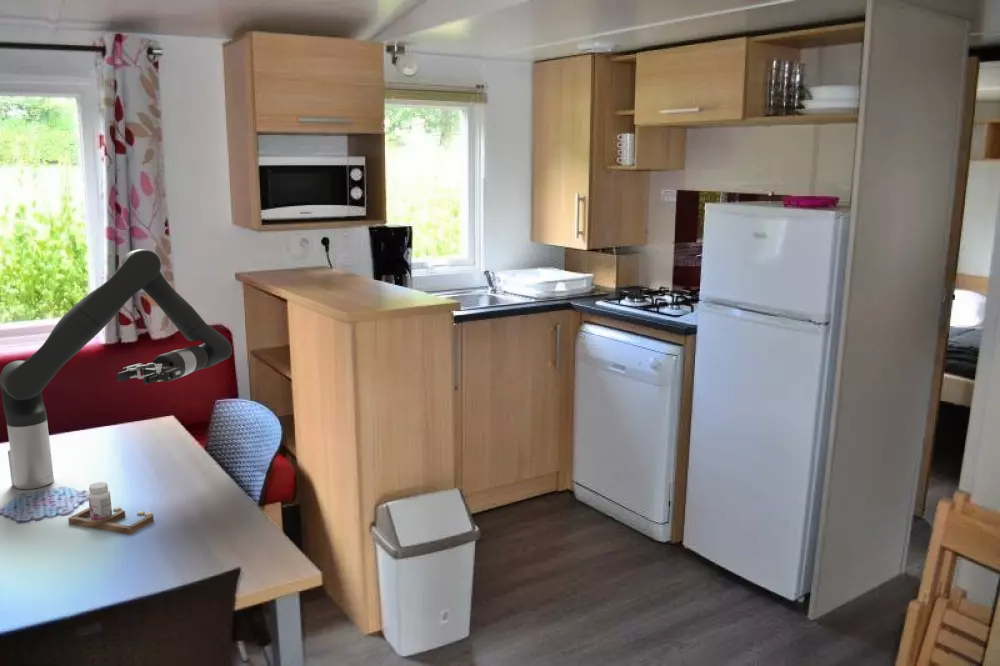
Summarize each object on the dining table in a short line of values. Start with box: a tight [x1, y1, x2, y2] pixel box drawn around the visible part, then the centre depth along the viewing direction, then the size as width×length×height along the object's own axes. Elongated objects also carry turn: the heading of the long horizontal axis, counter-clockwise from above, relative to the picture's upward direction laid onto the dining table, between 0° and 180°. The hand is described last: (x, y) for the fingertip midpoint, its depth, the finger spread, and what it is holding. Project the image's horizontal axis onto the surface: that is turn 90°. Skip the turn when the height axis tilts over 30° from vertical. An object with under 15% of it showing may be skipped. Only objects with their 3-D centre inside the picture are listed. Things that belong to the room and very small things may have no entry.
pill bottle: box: [88, 481, 113, 521], centre depth 197 cm, size 5×5×8 cm
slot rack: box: [67, 506, 155, 536], centre depth 197 cm, size 18×11×2 cm, turn 71°
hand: (131, 379), depth 210 cm, fingers open, 8 cm apart
